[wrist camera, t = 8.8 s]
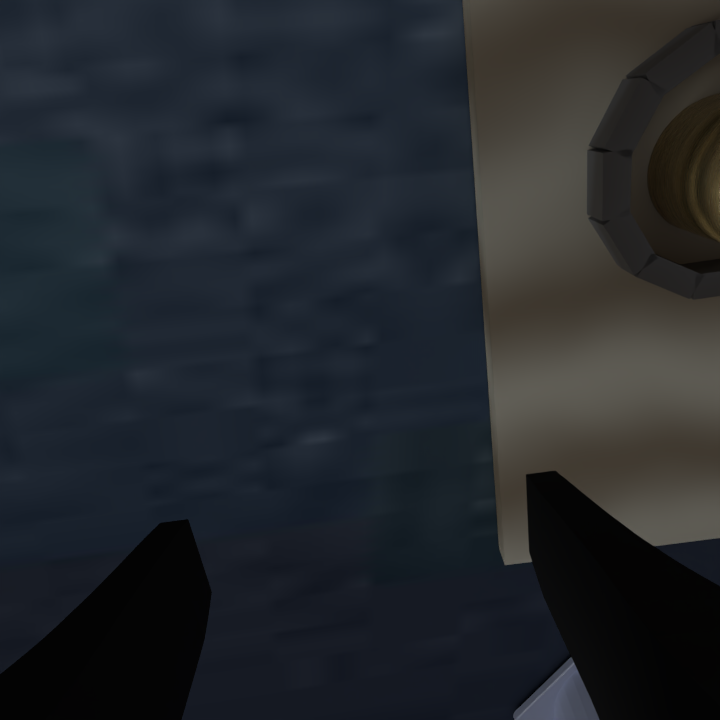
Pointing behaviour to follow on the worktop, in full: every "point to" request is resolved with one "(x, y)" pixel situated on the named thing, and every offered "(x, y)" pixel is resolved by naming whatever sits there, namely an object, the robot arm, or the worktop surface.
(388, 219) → the worktop surface
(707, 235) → the brass fitting
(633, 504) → the jig board
